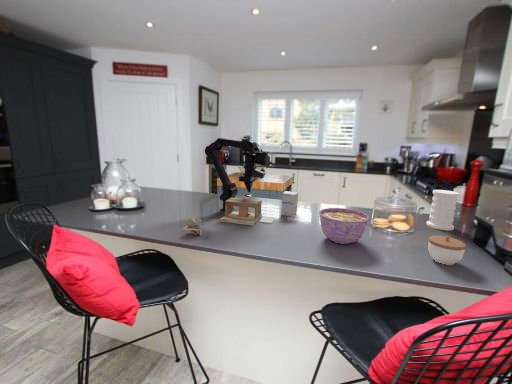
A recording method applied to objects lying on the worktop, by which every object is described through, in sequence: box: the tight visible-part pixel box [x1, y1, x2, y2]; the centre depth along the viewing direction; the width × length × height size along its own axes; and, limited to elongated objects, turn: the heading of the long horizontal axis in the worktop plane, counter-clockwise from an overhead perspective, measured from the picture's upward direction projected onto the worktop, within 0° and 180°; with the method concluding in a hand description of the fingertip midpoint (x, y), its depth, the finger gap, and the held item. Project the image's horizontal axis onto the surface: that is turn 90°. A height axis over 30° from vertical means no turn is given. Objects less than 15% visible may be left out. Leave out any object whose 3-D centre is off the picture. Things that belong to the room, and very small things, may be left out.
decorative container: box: [426, 189, 460, 231], centre depth 131 cm, size 12×12×18 cm
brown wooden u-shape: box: [224, 197, 262, 219], centre depth 137 cm, size 9×17×7 cm, turn 74°
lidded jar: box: [427, 235, 467, 266], centre depth 93 cm, size 11×11×9 cm
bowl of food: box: [318, 207, 370, 245], centre depth 110 cm, size 20×20×12 cm
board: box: [220, 210, 263, 226], centre depth 136 cm, size 16×17×2 cm
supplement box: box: [280, 190, 299, 217], centre depth 145 cm, size 7×7×13 cm
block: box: [238, 206, 249, 217], centre depth 137 cm, size 4×4×7 cm
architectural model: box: [182, 217, 203, 236], centre depth 112 cm, size 3×7×7 cm, turn 83°
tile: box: [258, 215, 276, 225], centre depth 134 cm, size 9×6×1 cm
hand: (249, 192), depth 144 cm, fingers closed
